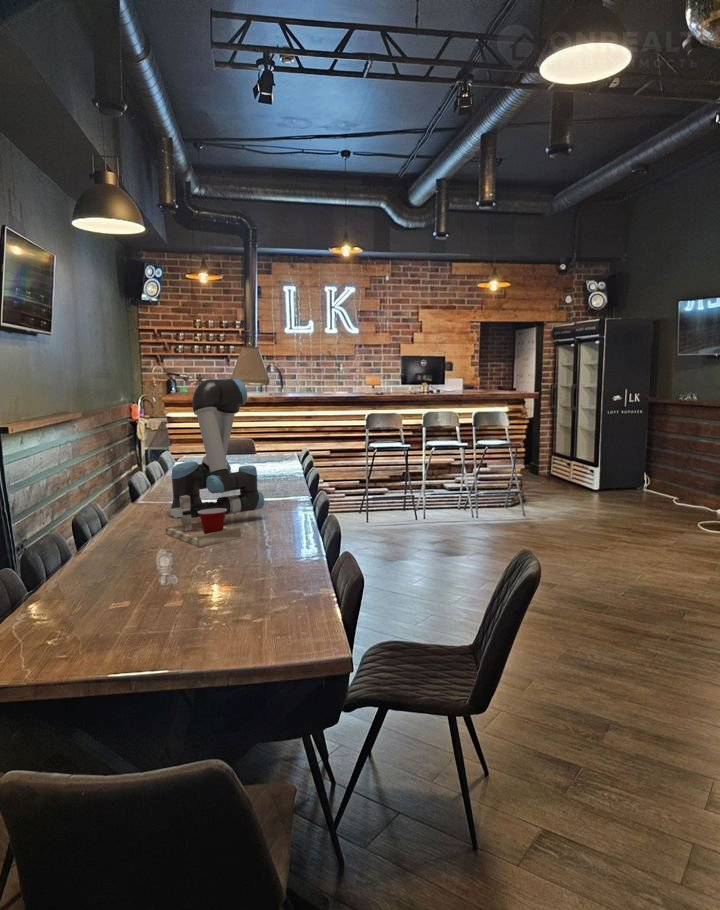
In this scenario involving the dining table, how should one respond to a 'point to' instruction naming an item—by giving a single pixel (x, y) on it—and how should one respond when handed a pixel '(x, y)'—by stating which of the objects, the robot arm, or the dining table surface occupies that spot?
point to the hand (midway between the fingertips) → (172, 513)
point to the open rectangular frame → (204, 539)
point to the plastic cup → (212, 519)
